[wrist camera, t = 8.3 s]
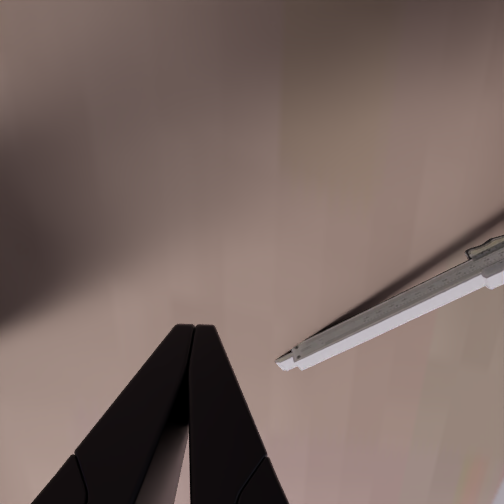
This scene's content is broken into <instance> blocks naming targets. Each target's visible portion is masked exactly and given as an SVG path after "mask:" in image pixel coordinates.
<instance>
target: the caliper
mask: <svg viewBox="0 0 504 504" xmlns="http://www.w3.org/2000/svg"><path fill="white" fill-rule="evenodd" d="M465 254H466V256H467V259H468V261H466V262H464V263H462V264H459V265H457V266H455V267H453V268H451V269H449V270H447V271H445V272H443V273H441V274H439V275H437V276H435V277H433V278H431V279H429V280H427V281H425V282H423V283H421V284H419V285H417V286H414V287H412V288H410V289H408V290H406V291H404V292H402V293H400V294H398V295H396V296H394V297H392V298H390V299H388V300H386V301H384V302H382V303H380V304H378V305H375V306H373V307H371V308H369V309H367V310H365V311H363V312H361V313H359V314H357V315H355V316H353V317H350V318H348V319H346V320H344V321H342V322H340V323H338V324H336V325H334V326H332V327H330V328H328V329H325V330H323V331H321V332H319V333H317V334H315V335H313V336H311V337H309V338H308V339H306V340H305V341H303V342H302V343H300V344H299V345H297V346H296V347H294V348H293V349H291V350H292V352H291V353H289V354H287V355H284V356H282V357H280V358H278V359H277V360H276V361H275V363H276V364H277V365H278V366H279V367H280V368H281V369H282V370H283V371H284V370H286V371H288V370H290V369H293V368H295V367H297V366H298V367H299V368H300V369H301V370H304V369H307V368H309V367H311V366H313V365H315V364H317V363H320V362H322V361H324V360H326V359H328V358H331V357H333V356H335V355H337V354H339V353H341V352H344V351H346V350H348V349H350V348H352V347H355V346H357V345H359V344H361V343H363V342H365V341H368V340H370V339H372V338H374V337H376V336H378V335H380V334H383V333H385V332H387V331H389V330H391V329H393V328H395V327H398V326H400V325H402V324H404V323H406V322H408V321H411V320H413V319H415V318H417V317H419V316H421V315H423V314H426V313H428V312H430V311H432V310H434V309H436V308H439V307H441V306H443V305H445V304H447V303H449V302H451V301H454V300H456V299H458V298H460V297H462V296H464V295H467V294H469V293H471V292H473V291H475V290H477V289H479V288H482V287H484V286H487V288H489V289H494V288H496V287H498V286H500V285H503V284H504V235H502V236H498V237H495V238H491V239H489V240H487V241H486V242H485V243H484V244H482V245H480V246H477V247H473V248H470V249H468V250H466V251H465Z"/></svg>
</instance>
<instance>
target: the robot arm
mask: <svg viewBox="0 0 504 504" xmlns="http://www.w3.org/2000/svg"><path fill="white" fill-rule="evenodd" d="M188 433H189V461H190V504H289V502H288V500H287V498H286V495H285V493H284V491H283V489H282V487H281V484H280V482H279V480H278V478H277V475H276V473H275V470H274V468H273V466H272V463H271V461H270V458H269V457H267V452H266V449H265V447H264V444H263V442H262V439H261V437H260V435H259V432H258V430H257V427H256V425H255V422H254V420H253V417H252V415H251V413H250V410H249V408H248V405H247V403H246V400H245V398H244V396H243V393H242V391H241V388H240V386H239V383H238V381H237V378H236V376H235V374H234V371H233V369H232V366H231V364H230V361H229V359H228V357H227V354H226V352H225V349H224V347H223V344H222V342H221V339H220V337H219V335H218V332H217V330H216V327H215V326H214V325H204V324H198V325H196V327H195V326H194V325H193V324H177V325H175V326H174V327H173V328H172V330H171V331H170V332H169V333H168V335H167V336H166V337H165V338H164V340H163V341H162V342H161V343H160V345H159V346H158V347H157V348H156V350H155V351H154V352H153V353H152V355H151V356H150V357H149V358H148V360H147V361H146V362H145V363H144V365H143V366H142V367H141V369H140V370H139V371H138V372H137V374H136V375H135V376H134V377H133V379H132V380H131V381H130V382H129V384H128V385H127V386H126V387H125V389H124V390H123V391H122V392H121V394H120V395H119V396H118V397H117V399H116V400H115V401H114V402H113V404H112V405H111V406H110V407H109V409H108V410H107V411H106V412H105V414H104V415H103V416H102V417H101V419H100V420H99V421H98V422H97V424H96V425H95V426H94V427H93V429H92V430H91V431H90V432H89V434H88V435H87V436H86V437H85V439H84V440H83V441H82V442H81V444H80V445H79V446H78V447H77V449H76V450H75V452H74V453H75V455H74V454H72V455H71V456H70V457H69V458H68V459H67V461H66V462H65V463H64V465H63V466H62V467H61V468H60V470H59V471H58V472H57V473H56V475H55V476H54V477H53V478H52V479H51V480H50V482H49V483H48V484H47V485H46V486H45V488H44V489H43V490H42V491H41V492H40V494H39V495H38V496H37V497H36V498H35V499H34V501H33V502H32V503H31V504H174V501H175V496H176V491H177V486H178V482H179V477H180V472H181V467H182V463H183V458H184V453H185V448H186V444H187V439H188Z"/></svg>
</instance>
